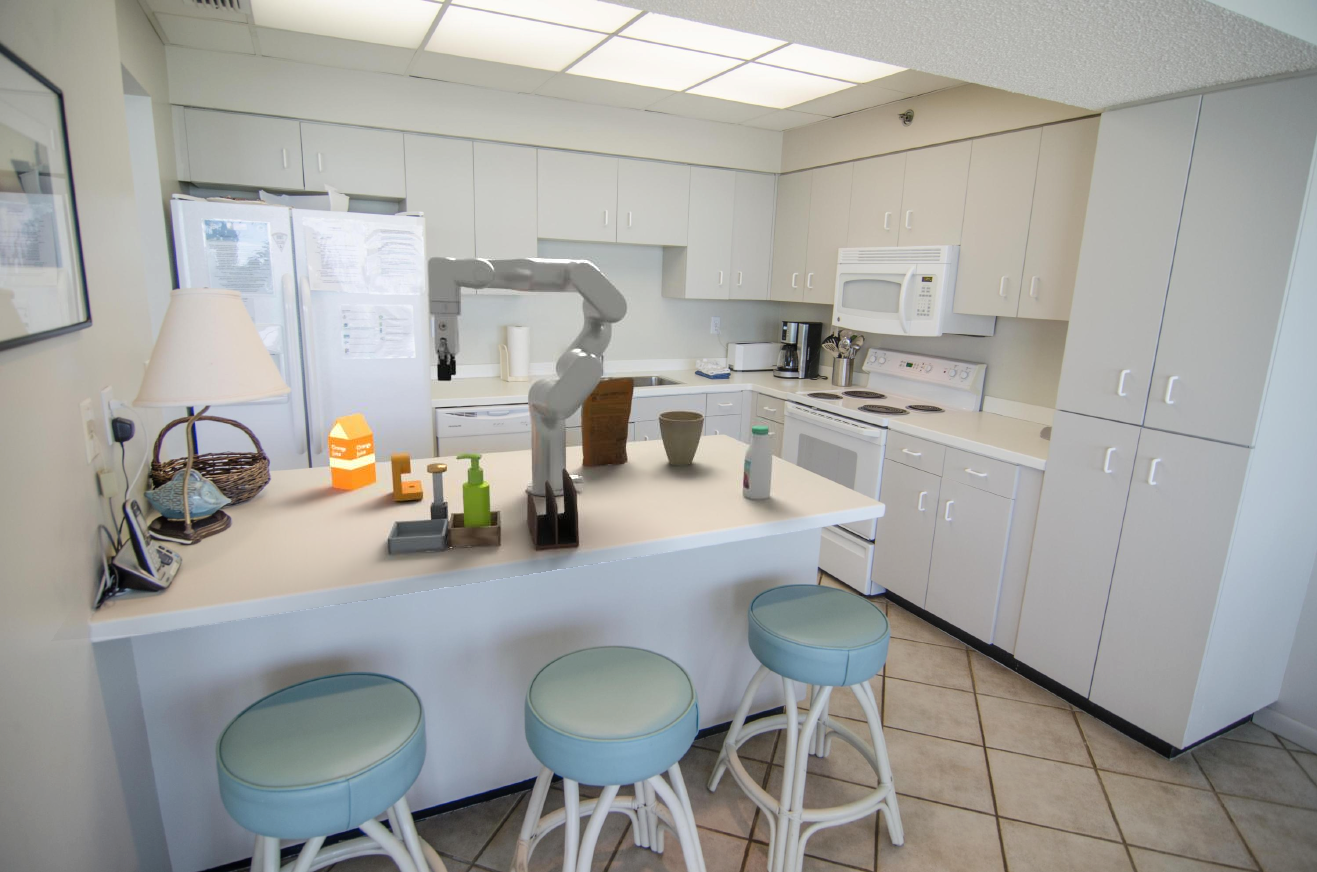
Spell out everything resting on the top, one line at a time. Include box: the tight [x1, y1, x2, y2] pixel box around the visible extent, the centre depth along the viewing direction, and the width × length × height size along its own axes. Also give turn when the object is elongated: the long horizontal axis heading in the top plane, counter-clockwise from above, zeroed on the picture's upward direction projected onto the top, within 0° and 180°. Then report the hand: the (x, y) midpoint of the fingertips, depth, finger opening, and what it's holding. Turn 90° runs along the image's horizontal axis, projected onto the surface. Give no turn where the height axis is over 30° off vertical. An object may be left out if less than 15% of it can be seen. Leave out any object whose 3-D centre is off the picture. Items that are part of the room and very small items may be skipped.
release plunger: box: [426, 462, 448, 507], centre depth 159 cm, size 4×4×13 cm
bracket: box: [390, 453, 424, 502], centre depth 181 cm, size 11×7×12 cm, turn 22°
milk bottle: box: [742, 425, 773, 501], centre depth 188 cm, size 8×8×20 cm
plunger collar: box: [429, 501, 450, 527], centre depth 160 cm, size 5×5×6 cm
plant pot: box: [658, 410, 705, 467], centre depth 220 cm, size 15×15×16 cm
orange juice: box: [327, 412, 377, 491], centre depth 189 cm, size 8×9×20 cm
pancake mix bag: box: [580, 377, 635, 468], centre depth 215 cm, size 7×19×28 cm, turn 120°
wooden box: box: [447, 510, 502, 549], centre depth 155 cm, size 11×10×4 cm
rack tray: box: [387, 518, 449, 555], centre depth 152 cm, size 12×11×4 cm
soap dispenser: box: [455, 453, 491, 528], centre depth 153 cm, size 6×7×20 cm
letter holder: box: [526, 468, 580, 551], centre depth 159 cm, size 10×20×14 cm, turn 16°
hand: (447, 377), depth 170 cm, fingers open, 9 cm apart
